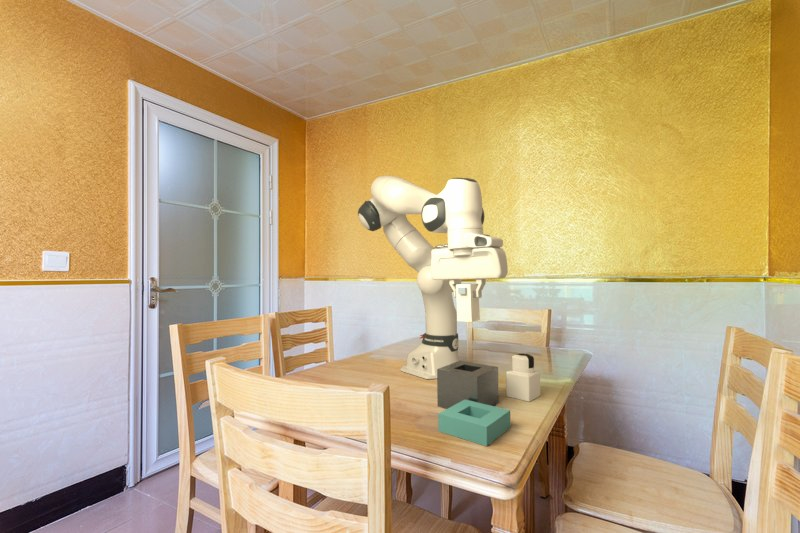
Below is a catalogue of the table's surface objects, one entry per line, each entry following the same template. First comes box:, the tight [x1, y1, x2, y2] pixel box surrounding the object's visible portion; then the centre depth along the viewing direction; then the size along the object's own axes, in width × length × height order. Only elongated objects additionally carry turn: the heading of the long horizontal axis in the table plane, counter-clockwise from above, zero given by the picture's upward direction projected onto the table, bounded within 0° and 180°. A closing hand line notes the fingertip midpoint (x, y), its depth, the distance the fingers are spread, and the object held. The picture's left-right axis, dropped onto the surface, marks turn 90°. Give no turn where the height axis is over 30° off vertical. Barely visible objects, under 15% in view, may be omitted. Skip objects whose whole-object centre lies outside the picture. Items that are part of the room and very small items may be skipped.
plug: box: [455, 283, 481, 323], centre depth 93 cm, size 4×5×9 cm
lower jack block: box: [437, 400, 511, 447], centre depth 87 cm, size 12×12×4 cm
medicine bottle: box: [505, 353, 541, 402], centre depth 109 cm, size 7×7×12 cm
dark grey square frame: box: [436, 360, 500, 410], centre depth 103 cm, size 12×12×10 cm
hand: (467, 297), depth 94 cm, fingers closed on plug, 4 cm apart
